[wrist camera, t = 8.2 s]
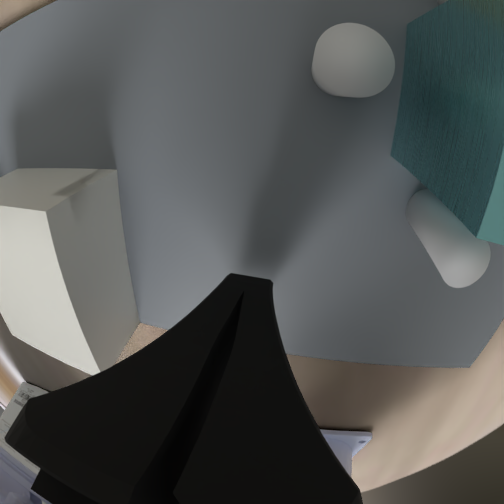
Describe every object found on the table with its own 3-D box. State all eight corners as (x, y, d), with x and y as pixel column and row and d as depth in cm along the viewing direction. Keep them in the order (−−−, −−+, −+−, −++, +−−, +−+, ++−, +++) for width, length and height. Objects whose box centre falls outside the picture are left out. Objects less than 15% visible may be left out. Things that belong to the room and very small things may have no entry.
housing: (140, 322, 13) (104, 380, 10) (49, 293, 13) (12, 335, 10) (116, 169, 9) (45, 211, 6) (17, 168, 10) (-41, 200, 7)
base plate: (460, 362, 12) (478, 421, 9) (4, 270, 15) (-30, 303, 12) (564, 69, 4) (627, 82, 1) (-27, 47, 7) (-77, 59, 4)
